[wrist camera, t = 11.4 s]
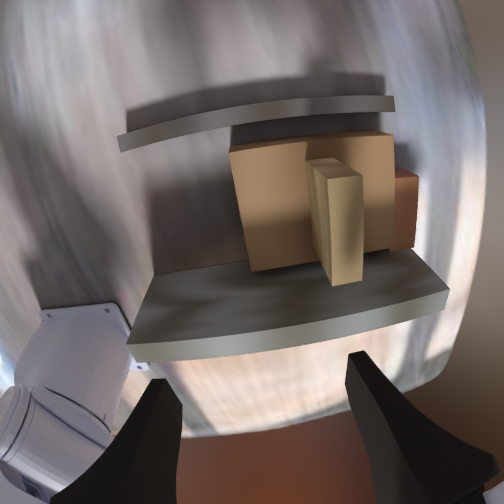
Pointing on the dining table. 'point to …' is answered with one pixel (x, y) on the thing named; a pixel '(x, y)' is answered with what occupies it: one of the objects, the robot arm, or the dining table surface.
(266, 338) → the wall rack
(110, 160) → the dining table surface
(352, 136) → the tan box with handle
